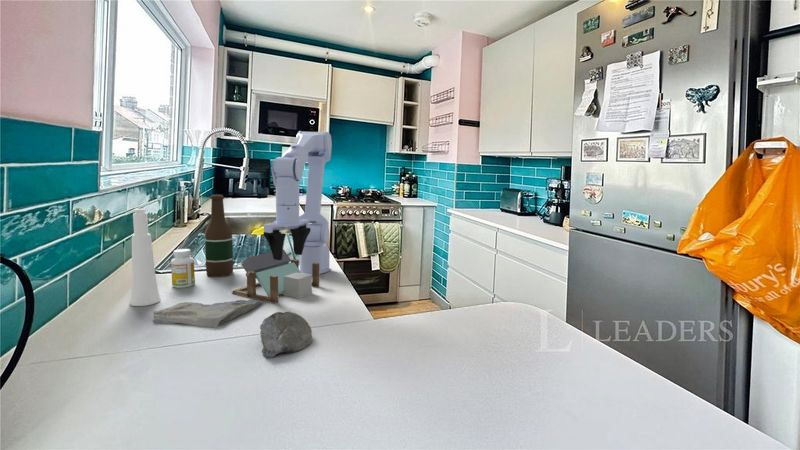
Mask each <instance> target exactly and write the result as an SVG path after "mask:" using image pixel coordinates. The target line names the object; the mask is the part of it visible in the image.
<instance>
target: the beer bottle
mask: <svg viewBox="0 0 800 450" xmlns="http://www.w3.org/2000/svg"><path fill="white" fill-rule="evenodd" d="M210 199H211V204H210V205H211V206H210V207H211V211H210V221H209V224H208V225H207V226H206V228H205V232H204V245H205V246H204V252H205V254H204V255H205V271H206V275H207V276H208V277H213V278H219V277H227V275H228V276H230V275H233V273H234V253H233V252H234V249H233V246H234V245H233V234H232V233H233V232H232V229H231V227H230V226H229V224H228V223H227V222H226V221H227V220H226V218H225V216H226V215H225V207H224V199H225V197H224V195H223V194H211V196H210Z"/></svg>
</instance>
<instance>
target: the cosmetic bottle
mask: <svg viewBox="0 0 800 450" xmlns="http://www.w3.org/2000/svg"><path fill="white" fill-rule="evenodd" d="M133 211H134V213H133V214H132V220H133V221H132V222H133V234H131V235H132V236H131V291H130V299H129V305H130V306H133V307H144V306H145V307H146V306H151V305H154V304H157V303H159V302H160V301H161V297H160V292H159V288H158V282H157V275H156V268H155V260H154V259H155V258H154V251H153V244H152V242H153V241H152V234H151V233H149V221H148V220H149V219H148V213H147V212H146V211H147V210H146V208H134V209H133Z"/></svg>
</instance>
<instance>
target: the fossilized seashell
mask: <svg viewBox="0 0 800 450" xmlns="http://www.w3.org/2000/svg"><path fill="white" fill-rule="evenodd" d="M261 322H262V323H261V324H260V326H259V329H260V331H259V333H260V339H261V340H260V341H261V344H262V346H263V348H262V349H261V353H262V354H263V355H264V356H265V357H268V358H270V359H271V358H274V357H276V355H278V354H281V353H290V354H292V352H294V353H296V352H295V351H297V352H299V351H302V350H304V349H305V348H307V347H308V346H310V343H311V342H312V340H313V336H312V335H313V332H312V328H311V326H310V324H309V323H308V322H307V320H306V318H304V317H303V316H302V315H300V314H299V313H296V312H292V311H285V312H283V311H276V312H274V313H272V314H271V315H269V316H267V317H265V318H264V319H263V321H261ZM303 348H304V349H303ZM301 349H302V350H301Z"/></svg>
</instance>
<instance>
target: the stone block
mask: <svg viewBox="0 0 800 450" xmlns="http://www.w3.org/2000/svg"><path fill="white" fill-rule="evenodd" d="M312 293H313V286H312V275H310V274H304V273H299V272H296V273H293V274H290V275H286V276H284V292H283V296H287V297H293V298H297V299H300V298H302V297H305V296H308V295H310V294H312Z"/></svg>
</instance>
